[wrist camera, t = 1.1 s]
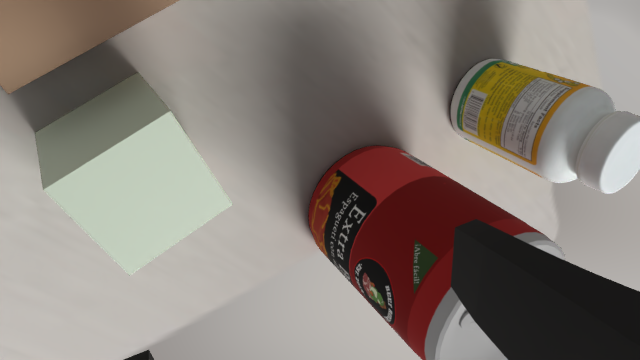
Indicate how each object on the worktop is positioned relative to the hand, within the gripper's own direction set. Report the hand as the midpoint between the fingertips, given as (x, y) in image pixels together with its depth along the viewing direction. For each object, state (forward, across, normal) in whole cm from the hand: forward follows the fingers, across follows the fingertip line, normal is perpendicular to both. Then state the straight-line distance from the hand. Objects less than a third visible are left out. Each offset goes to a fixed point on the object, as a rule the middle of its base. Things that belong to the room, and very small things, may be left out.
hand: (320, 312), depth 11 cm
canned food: (+14, -8, +9) cm, 19 cm away
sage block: (+13, +4, +1) cm, 13 cm away
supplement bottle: (+16, -17, +6) cm, 24 cm away
